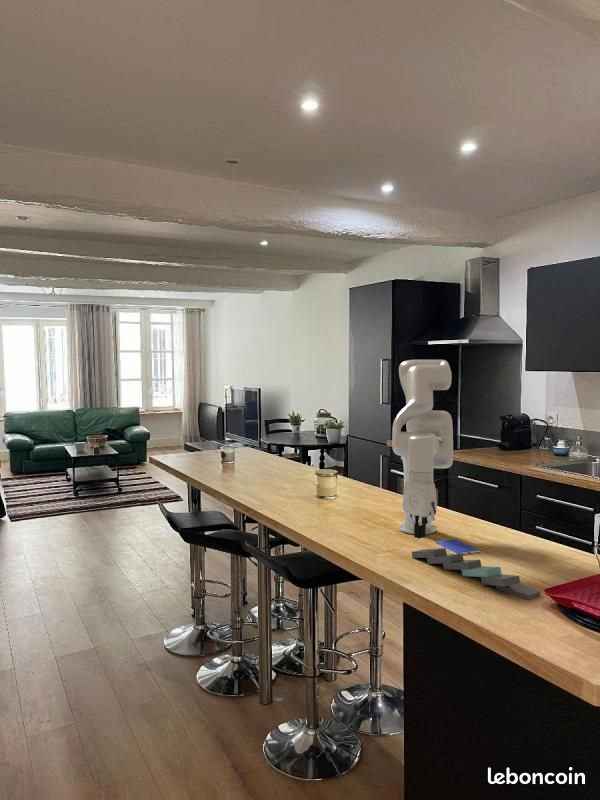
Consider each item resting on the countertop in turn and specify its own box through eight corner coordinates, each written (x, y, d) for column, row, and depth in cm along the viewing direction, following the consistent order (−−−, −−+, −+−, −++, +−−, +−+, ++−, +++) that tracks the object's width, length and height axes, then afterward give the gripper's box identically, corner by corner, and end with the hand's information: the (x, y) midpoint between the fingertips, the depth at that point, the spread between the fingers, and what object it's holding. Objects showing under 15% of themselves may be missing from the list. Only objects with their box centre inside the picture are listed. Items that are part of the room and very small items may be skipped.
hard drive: (435, 541, 196) (457, 552, 185) (456, 538, 199) (480, 549, 187) (435, 546, 196) (457, 557, 185) (456, 543, 199) (480, 554, 187)
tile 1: (411, 551, 182) (432, 550, 174) (423, 549, 185) (445, 548, 177) (412, 558, 182) (433, 557, 174) (425, 555, 184) (446, 554, 177)
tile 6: (495, 583, 157) (528, 595, 149) (508, 580, 160) (540, 591, 152) (495, 590, 157) (528, 602, 149) (508, 586, 160) (540, 598, 152)
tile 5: (480, 577, 160) (502, 579, 151) (496, 574, 161) (519, 575, 153) (482, 584, 160) (503, 586, 151) (498, 580, 161) (520, 583, 152)
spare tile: (461, 569, 167) (486, 570, 158) (474, 566, 169) (500, 566, 161) (462, 575, 166) (487, 577, 158) (476, 572, 169) (501, 573, 161)
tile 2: (426, 557, 177) (449, 556, 169) (439, 554, 179) (462, 553, 172) (427, 563, 176) (450, 562, 169) (440, 561, 179) (463, 559, 171)
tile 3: (442, 562, 172) (467, 562, 164) (455, 559, 175) (480, 559, 167) (443, 569, 172) (468, 569, 164) (456, 566, 174) (481, 566, 166)
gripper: (393, 474, 185) (393, 533, 186) (430, 481, 173) (429, 545, 174) (411, 472, 190) (410, 529, 191) (448, 479, 178) (447, 541, 179)
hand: (419, 537), depth 183 cm, fingers closed
